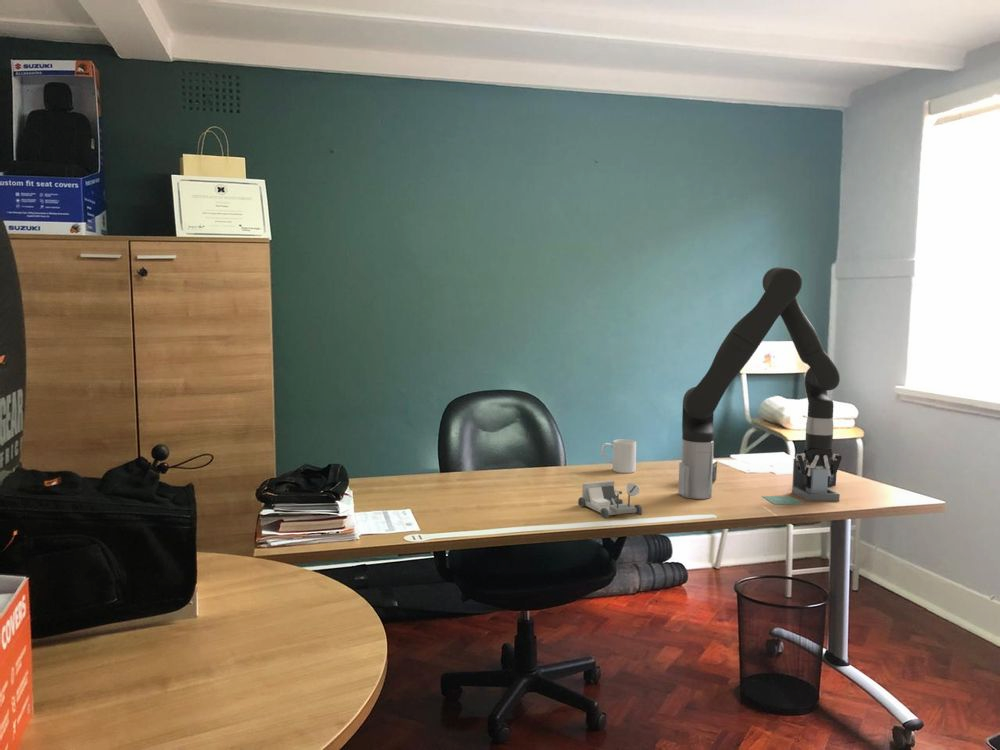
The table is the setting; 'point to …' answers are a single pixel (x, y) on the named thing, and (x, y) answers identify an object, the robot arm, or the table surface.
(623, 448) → the mug
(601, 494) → the toy car
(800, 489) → the case
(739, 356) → the robot arm
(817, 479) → the module
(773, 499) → the pad
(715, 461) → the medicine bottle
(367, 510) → the table surface
